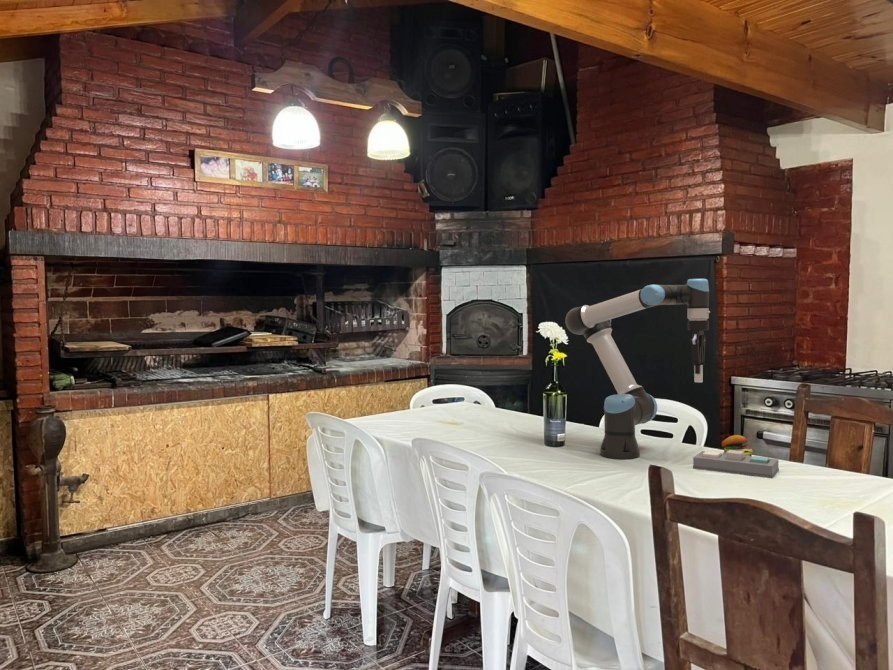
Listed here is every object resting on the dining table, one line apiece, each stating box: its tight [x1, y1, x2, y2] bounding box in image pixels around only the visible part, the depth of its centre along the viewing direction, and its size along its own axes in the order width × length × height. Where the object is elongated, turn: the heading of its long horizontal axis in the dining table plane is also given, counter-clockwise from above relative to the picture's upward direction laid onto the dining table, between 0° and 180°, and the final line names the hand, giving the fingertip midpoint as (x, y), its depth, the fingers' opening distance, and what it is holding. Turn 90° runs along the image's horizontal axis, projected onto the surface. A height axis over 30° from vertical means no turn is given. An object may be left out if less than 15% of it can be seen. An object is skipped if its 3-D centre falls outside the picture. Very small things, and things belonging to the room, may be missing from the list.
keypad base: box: [692, 450, 780, 479], centre depth 234 cm, size 26×12×4 cm, turn 54°
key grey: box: [726, 450, 744, 461], centre depth 234 cm, size 5×5×4 cm
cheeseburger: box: [721, 434, 753, 457], centre depth 251 cm, size 10×11×10 cm
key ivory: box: [703, 450, 722, 458], centre depth 239 cm, size 5×5×4 cm
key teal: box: [751, 455, 770, 464], centre depth 230 cm, size 5×5×4 cm
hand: (698, 382), depth 250 cm, fingers closed
